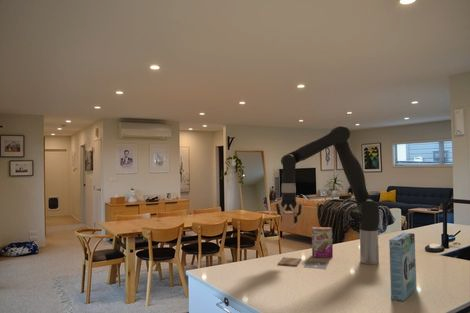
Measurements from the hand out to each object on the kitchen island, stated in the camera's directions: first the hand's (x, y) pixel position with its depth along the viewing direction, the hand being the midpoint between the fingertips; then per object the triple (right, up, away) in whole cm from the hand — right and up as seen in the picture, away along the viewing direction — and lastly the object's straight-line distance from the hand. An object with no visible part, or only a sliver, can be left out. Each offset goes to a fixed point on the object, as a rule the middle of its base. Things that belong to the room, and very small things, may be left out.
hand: (289, 222), depth 194 cm
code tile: (+13, -21, -5) cm, 25 cm away
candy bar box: (+20, -22, +11) cm, 32 cm away
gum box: (+39, -20, -48) cm, 65 cm away
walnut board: (0, -21, -1) cm, 21 cm away
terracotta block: (0, -2, 0) cm, 2 cm away
